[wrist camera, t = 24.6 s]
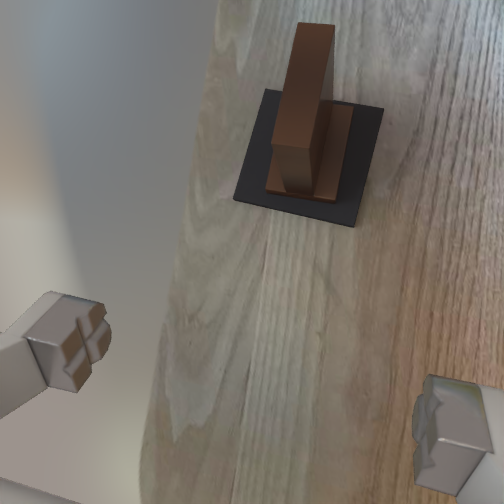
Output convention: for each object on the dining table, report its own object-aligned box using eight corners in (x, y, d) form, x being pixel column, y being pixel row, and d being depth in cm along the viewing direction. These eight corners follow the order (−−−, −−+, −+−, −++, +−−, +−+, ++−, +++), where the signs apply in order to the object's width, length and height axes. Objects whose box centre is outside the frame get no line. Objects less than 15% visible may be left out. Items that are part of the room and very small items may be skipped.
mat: (353, 227, 29) (354, 226, 29) (233, 200, 31) (232, 198, 31) (383, 111, 30) (384, 108, 30) (266, 91, 32) (265, 88, 32)
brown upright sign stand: (335, 204, 29) (339, 152, 21) (266, 193, 30) (242, 139, 22) (353, 113, 30) (364, 26, 21) (286, 105, 31) (270, 19, 22)
